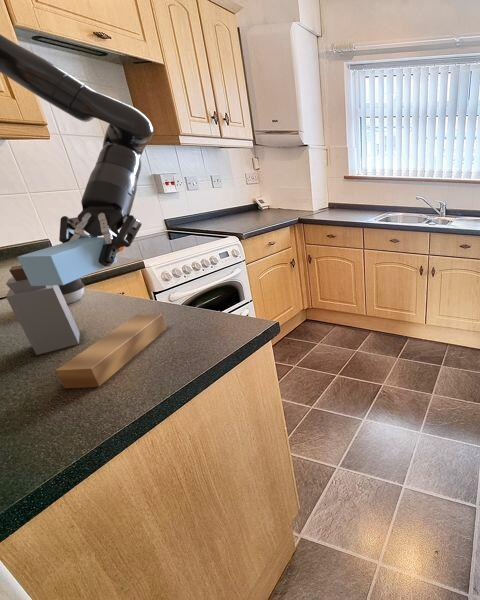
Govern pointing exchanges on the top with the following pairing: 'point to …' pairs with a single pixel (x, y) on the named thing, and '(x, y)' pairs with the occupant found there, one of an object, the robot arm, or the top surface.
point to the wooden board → (111, 352)
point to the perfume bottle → (41, 313)
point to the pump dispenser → (72, 290)
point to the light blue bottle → (63, 262)
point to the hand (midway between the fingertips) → (88, 264)
